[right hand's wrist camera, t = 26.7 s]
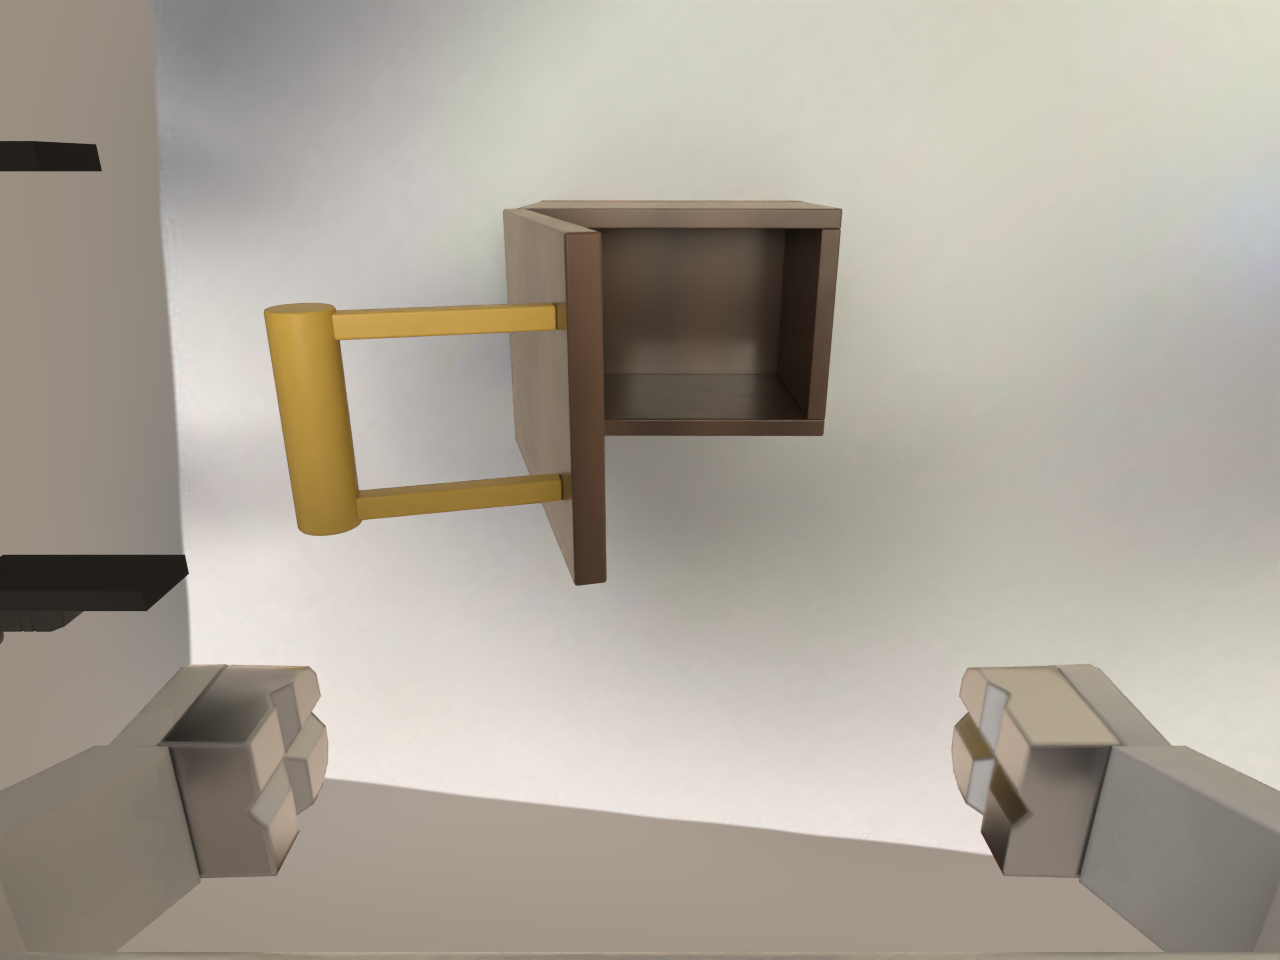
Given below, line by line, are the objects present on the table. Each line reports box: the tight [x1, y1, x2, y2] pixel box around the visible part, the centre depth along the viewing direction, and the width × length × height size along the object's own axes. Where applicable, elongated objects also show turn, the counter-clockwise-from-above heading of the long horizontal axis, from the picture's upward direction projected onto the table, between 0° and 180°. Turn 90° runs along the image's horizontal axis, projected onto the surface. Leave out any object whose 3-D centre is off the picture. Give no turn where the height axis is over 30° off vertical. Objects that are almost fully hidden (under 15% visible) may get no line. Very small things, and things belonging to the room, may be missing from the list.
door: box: [264, 209, 607, 586], centre depth 28 cm, size 15×10×9 cm
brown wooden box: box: [518, 201, 842, 436], centre depth 41 cm, size 14×10×10 cm
